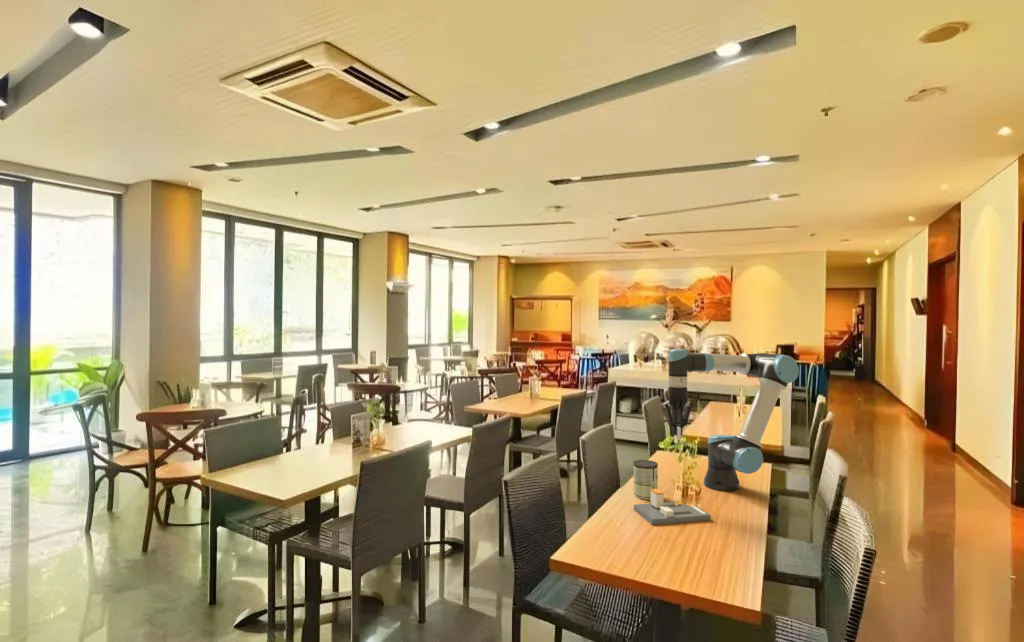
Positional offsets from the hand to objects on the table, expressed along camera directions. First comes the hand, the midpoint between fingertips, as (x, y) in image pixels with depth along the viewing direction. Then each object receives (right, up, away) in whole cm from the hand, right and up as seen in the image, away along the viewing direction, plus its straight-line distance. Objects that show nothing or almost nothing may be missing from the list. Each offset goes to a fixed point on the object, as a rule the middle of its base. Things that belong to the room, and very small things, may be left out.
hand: (677, 442), depth 225 cm
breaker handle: (-12, -22, -12) cm, 28 cm away
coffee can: (-12, -25, +7) cm, 28 cm away
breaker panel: (-7, -25, -15) cm, 30 cm away
